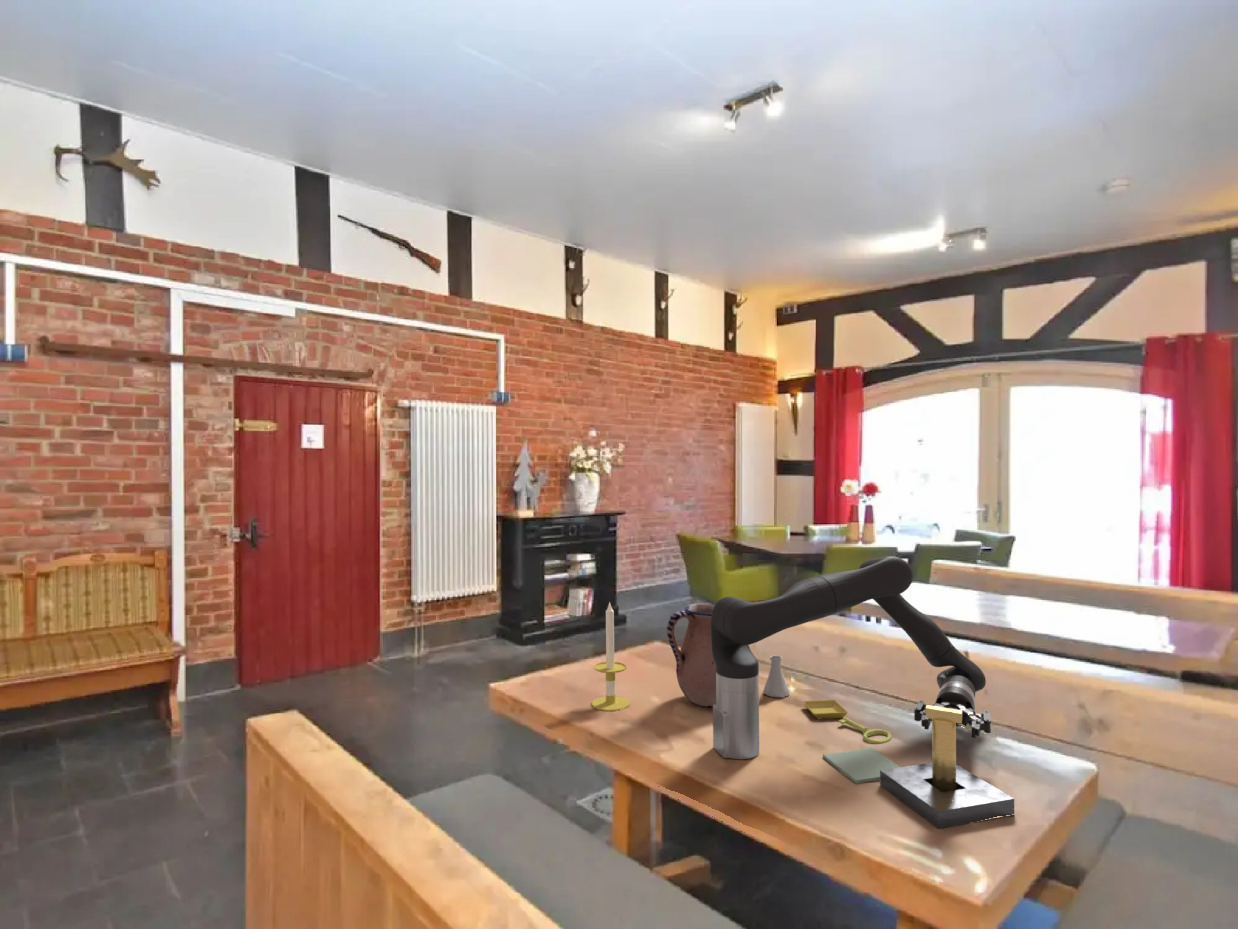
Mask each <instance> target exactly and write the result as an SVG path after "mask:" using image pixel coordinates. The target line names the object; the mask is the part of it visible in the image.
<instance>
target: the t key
mask: <svg viewBox="0 0 1238 929" xmlns="http://www.w3.org/2000/svg"><path fill="white" fill-rule="evenodd" d="M926 705H927V706H926V718H932V723H931V726H932V727H931V737H932V738H931V740H932V741H931V742H932V744H931V745H932V748H931V753H932V754H931V755H932V756H931V757H932V759H931V763H932V786H934V787H935V788H937V789H938V790H940V791H941V792H948V791H954V790H956V764H957V726H956V723H961V724H962V710H956V709H949V708H943V707H937V706H932V705H929V704H926Z"/></svg>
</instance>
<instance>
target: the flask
mask: <svg viewBox="0 0 1238 929" xmlns="http://www.w3.org/2000/svg"><path fill="white" fill-rule="evenodd" d="M782 658H783V657H782V656H780V655H770V657H769V659H770V670H769V672H768V677H767V679H766V682H765V684H764V687H763V690H762V691H763V692H762V694H763V695H764V694H766V695H765V696H768V697H770V698H779V699H781V698H786V697H788V696H790V689H789V687H788V685H787V682H786V679H785V676H784V673H783V669H782V664H781V661H782ZM785 696H786V697H785Z"/></svg>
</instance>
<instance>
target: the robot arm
mask: <svg viewBox="0 0 1238 929" xmlns="http://www.w3.org/2000/svg"><path fill="white" fill-rule="evenodd" d="M913 578H914V576H913V570H912V568H911V566H910V565H909V563H908V562H907V561H906V560H904V559H902V558H900V557H897V556H892V555H891V556H890V555H887V556H882V557H881V556H880V557H877V558H870V559H868V560H866V561H864V562H863V563H861V564H860V566H859V568H858V569H852V570H845V571H844V570H843V571H836V572H830V573H825V574H820V575H816V576H813V577H810V578H806V579H802V580H799V581H798V582H796V583H794V584H793V585H792V586H790V587H789V588H788V589H786V591H785V592H784V593H783V594H782V595H780V596H777V597H774V598H771V599H766V600H762V601H756V602H755V601H754V602H753V601H748V600H744V599H742V598H739V597H735V596H725V597H722V598H720V599H719V600H718V601H717V602H716V603H715V604H714V608H713V611H712V615H711V641H712V654H713V658H714V661H715V664H716V704H714V705H713V707H712V738H713V739H712V745H713V746H712V747H713V749H715V751H716V752H717V753H718V754H719V755H720V754H721V755H722V756H723V757H724V758H723V757H722V756H721V755H720V756H721V757H722V758H723V759H734V760H748V759H752V758H755V757H757V756H758V755H759V754H760V678H759V676H760V672H759V670H760V666H759V664H760V663H759V659H757V657H756V656H755V654H754V653H753V652H752V650H751V647H750V645H752V644H756V643H758V642H760V641H762V640H764V639H767V638H769V637H771V636H773V635H775V634H777V633H779V632H782V631H784V630H786V629H789V628H793V627H796V626H800V625H803V624H806V623H810V622H813V621H818V620H820V619H823V618H826V617H829V616H830V617H831V616H832V615H835V614H838V613H841V612H842V611H846V610H848V609H851V608H853V607H855V606H858V605H860V604H863V603H865V602H866V601H870V600H873V601H874V602H875V603H877V604H878V606H880V607H881V609H883V611H884V612H886V614H887V615H889V617H890V618H891V619H892V620H894V622H896V624H897V625H898V626H899V627H900V628H901V629H902V630H903V631H904V632H905V633H906V635H908V637H909V638H910V640H912V642H913V643H914V644H915V646H916V647H917V648H918V650H919V651H920V652H921V654H922V655H923V657H924V658H925V659H926V661H927V662H928V663H929V665H930V666H932V667H935V668H942V667H949V668H946V669H944V670H942V671H941V672H939V673H938V674H937V676H936V683H937V685H938V687H939V690H938V693H937V695H936V696H937V697H936V699H935V703H933V704H932V705H931V706H937V707H943V708H949V709H956V710H962V724H961V723H956V727H963V728H965V729H966V730H968V731H969V730H971V738H974V739H976V738H977V737H979V736H980V735H981V731H983V732H984V733H986V734H991V733H992V730H991V729H992V728H991V723H992V720H991V713H990V711H989V710H983V711H982V712H980V713H976V711H975V710H976V693H977V692H979V691H981V690H983V689H984V688H985V687H986V685H987V684H986V683H987V681H986V680H987V678H986V675H985V674H984V672H983V670H982V669H981V668H980V667H979V665H977V664H976V663H975V662H974V661H972V660H971V659H970V658H968V657H967V656H965V655H964V654H963V653H962V652H960V650H958V649H957V648H956V646H954V645H953V643H952V642H951V640H950V639H949V638H948V636H946V634H945V633H944V631H943V630H942V628H940V626H938V624H936V622H934V621H933V620H932V619H930V617H928V616H927V615H925V614H924V613H923V612H921V611H920V610H918V608H916V607H915V606H913V605H912V604H910V603H909V601H907V600H906V599H905V598H904V597H903V596H902V595H901V594H903V593H905V591H906V590H908V588H909V587H910V586H911V585H912V582H913ZM927 705H928V704H926V702H925V700H918V702H917V703H916V705H915V707H914V710H913V711H914V713H913V714H914V715H913V716H914V719H913V720H914V721H916V722H920V723H921V724H920V726H921V727H923V728H924V730H927V731H928V730H930V726H931V724H932V718H926V706H927Z"/></svg>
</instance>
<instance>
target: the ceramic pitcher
mask: <svg viewBox="0 0 1238 929" xmlns="http://www.w3.org/2000/svg"><path fill="white" fill-rule="evenodd" d="M714 606H715V604H713V603H710V602H708V601H707V602H705V601H704V602H695V603H691V604H687V605H686V606H685V607H684V610H683V609H681V610H677V611H676V612H674V613H673V614H671V615H670V618H669V620H668V622H667V625H666V633H667V639H668V642H669V645H670V648H671V650H672V653H673V655H674V659H675V663H676V666H675V668H676V669H675V673H676V678H677V680H676V681H677V683H678V686H679V688H680V690H681V691H682V693H683V695H684V696H685V697H686V698H687V699H688V700H689V701H691V703H693V704H695V705H698V706H702V707H708V706H713V705H714V704H716V664H715V661H714V658H713V654H712V641H711V615H712V611H713V608H714ZM683 618H685V619H687V620H688V625H687V628H686V631H685V633H684V638H683V640H682V642H681V647H680V649H679V647H678V644H677V642H676V637H675V626H676V625H677V623H678V622H679V620H681V619H683Z"/></svg>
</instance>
